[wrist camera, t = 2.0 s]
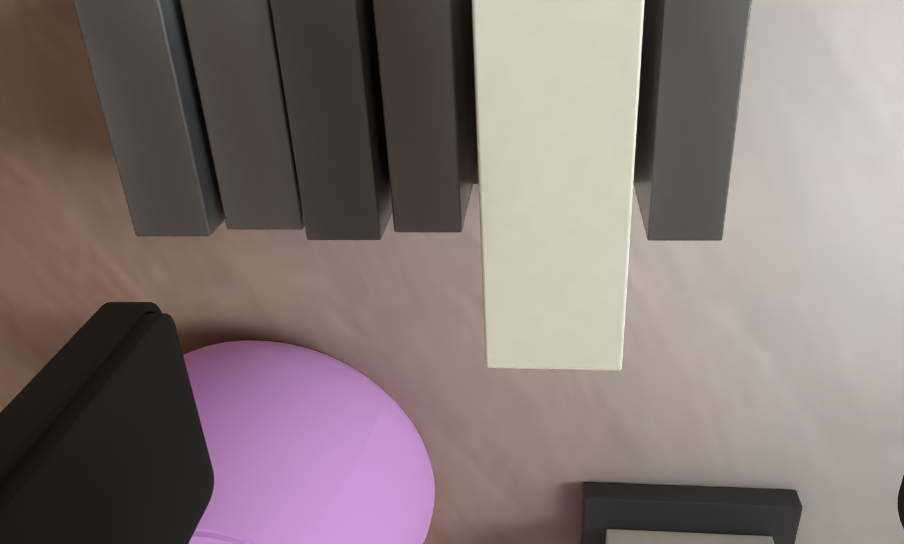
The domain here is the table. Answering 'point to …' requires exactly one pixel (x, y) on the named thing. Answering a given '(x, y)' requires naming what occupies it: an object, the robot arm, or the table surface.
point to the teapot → (305, 451)
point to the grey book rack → (373, 113)
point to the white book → (556, 177)
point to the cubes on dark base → (687, 515)
